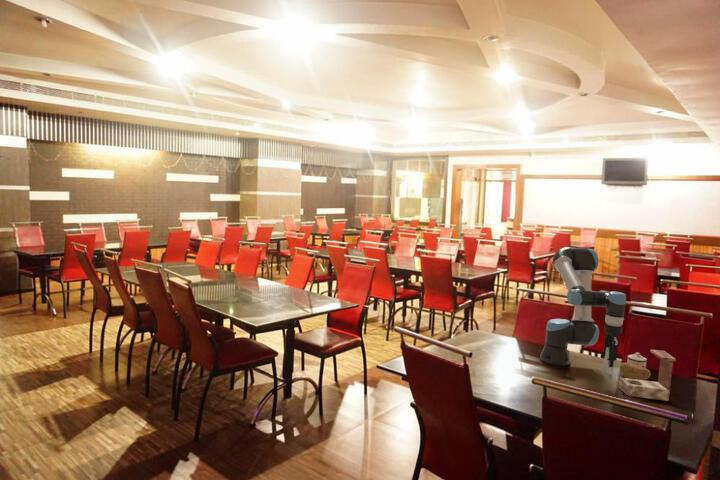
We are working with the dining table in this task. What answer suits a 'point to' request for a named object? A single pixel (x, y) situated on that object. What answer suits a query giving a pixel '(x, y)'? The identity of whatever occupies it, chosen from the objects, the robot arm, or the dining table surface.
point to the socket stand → (650, 387)
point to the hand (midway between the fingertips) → (607, 371)
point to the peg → (608, 375)
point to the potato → (634, 371)
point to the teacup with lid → (637, 360)
